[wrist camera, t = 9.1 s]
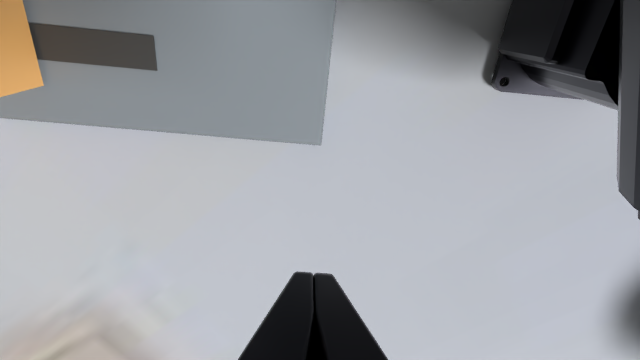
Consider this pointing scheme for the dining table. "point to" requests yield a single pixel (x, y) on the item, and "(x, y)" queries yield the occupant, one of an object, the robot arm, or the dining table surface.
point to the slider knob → (16, 50)
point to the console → (182, 66)
